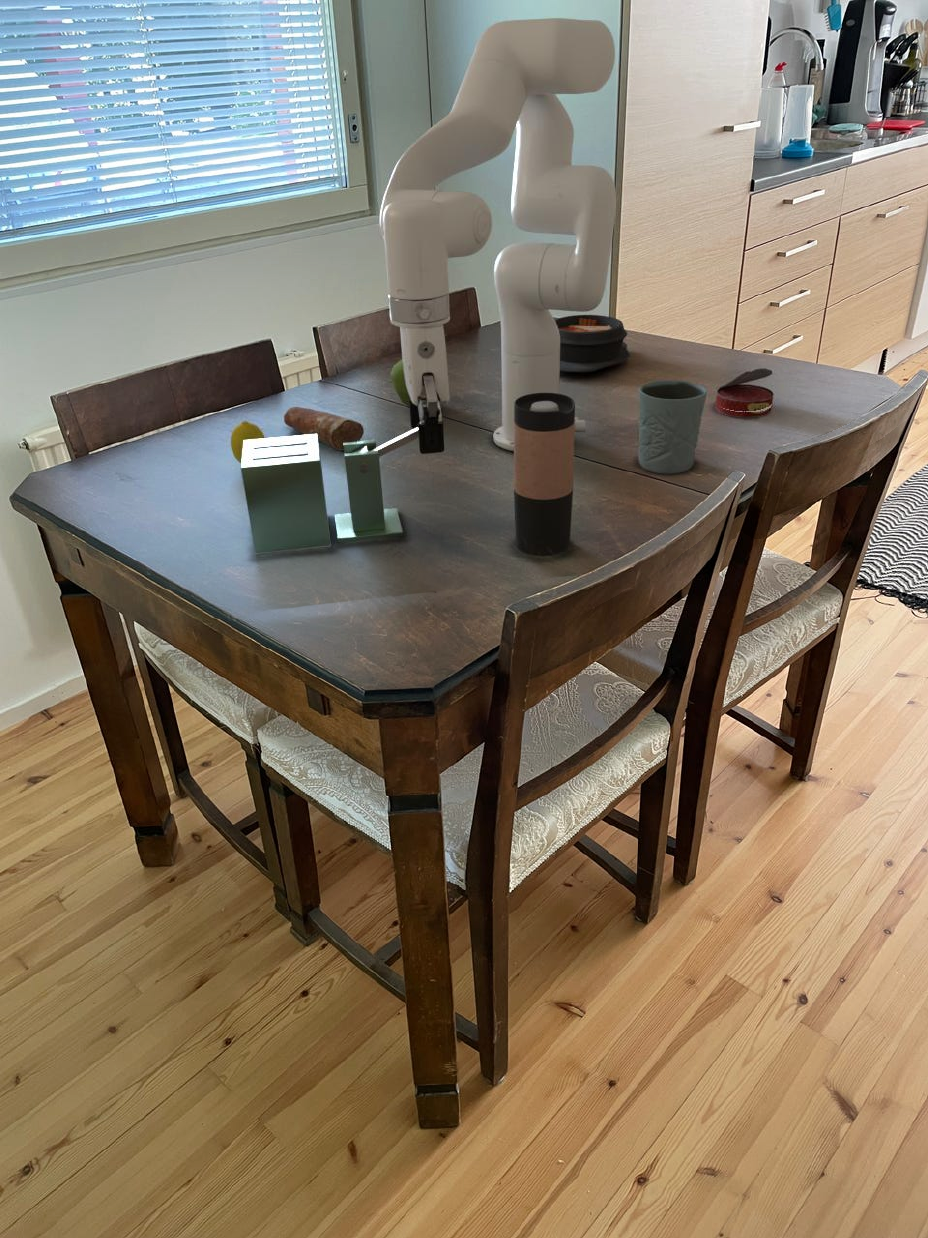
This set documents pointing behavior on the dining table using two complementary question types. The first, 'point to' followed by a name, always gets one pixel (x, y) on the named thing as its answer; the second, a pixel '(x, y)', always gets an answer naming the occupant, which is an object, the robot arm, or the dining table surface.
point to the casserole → (591, 342)
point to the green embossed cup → (669, 424)
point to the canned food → (745, 396)
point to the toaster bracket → (365, 498)
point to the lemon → (244, 437)
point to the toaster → (285, 494)
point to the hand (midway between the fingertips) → (427, 439)
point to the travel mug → (543, 472)
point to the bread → (324, 426)
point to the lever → (393, 443)
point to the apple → (400, 382)
